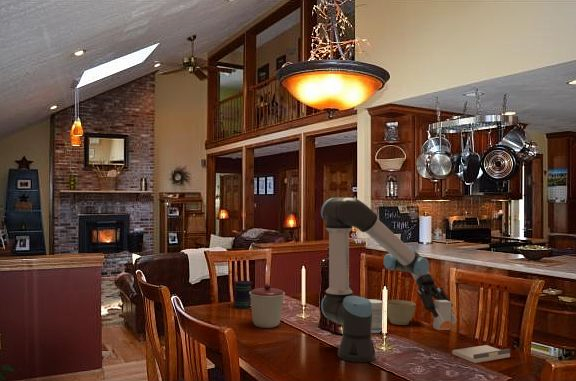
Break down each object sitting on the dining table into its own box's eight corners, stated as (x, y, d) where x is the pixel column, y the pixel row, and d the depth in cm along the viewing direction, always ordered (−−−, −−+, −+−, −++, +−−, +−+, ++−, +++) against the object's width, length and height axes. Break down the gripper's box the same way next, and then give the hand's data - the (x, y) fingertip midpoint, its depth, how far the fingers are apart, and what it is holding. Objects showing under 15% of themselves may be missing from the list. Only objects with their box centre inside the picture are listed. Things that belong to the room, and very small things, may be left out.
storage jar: (254, 307, 278) (254, 281, 278) (244, 310, 269) (244, 283, 270) (240, 304, 283) (241, 280, 283) (230, 307, 275) (231, 282, 275)
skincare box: (438, 330, 200) (439, 301, 200) (433, 327, 204) (433, 299, 204) (451, 329, 201) (451, 301, 202) (445, 327, 206) (446, 299, 206)
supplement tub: (387, 332, 229) (387, 301, 229) (372, 334, 224) (373, 303, 224) (373, 327, 237) (373, 298, 238) (359, 330, 232) (359, 300, 232)
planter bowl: (421, 326, 243) (422, 304, 243) (395, 328, 237) (395, 306, 237) (403, 318, 258) (403, 298, 258) (378, 320, 252) (378, 300, 252)
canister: (243, 328, 230) (244, 285, 230) (254, 319, 247) (255, 279, 248) (279, 331, 225) (280, 287, 226) (288, 322, 243) (289, 281, 243)
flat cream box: (475, 363, 186) (475, 355, 186) (452, 354, 197) (452, 346, 197) (510, 357, 195) (510, 349, 195) (486, 348, 206) (486, 341, 206)
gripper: (435, 282, 221) (460, 325, 206) (402, 283, 213) (426, 329, 198) (443, 272, 217) (470, 316, 202) (410, 273, 208) (435, 319, 193)
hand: (448, 322), depth 200 cm, fingers closed on skincare box, 6 cm apart
